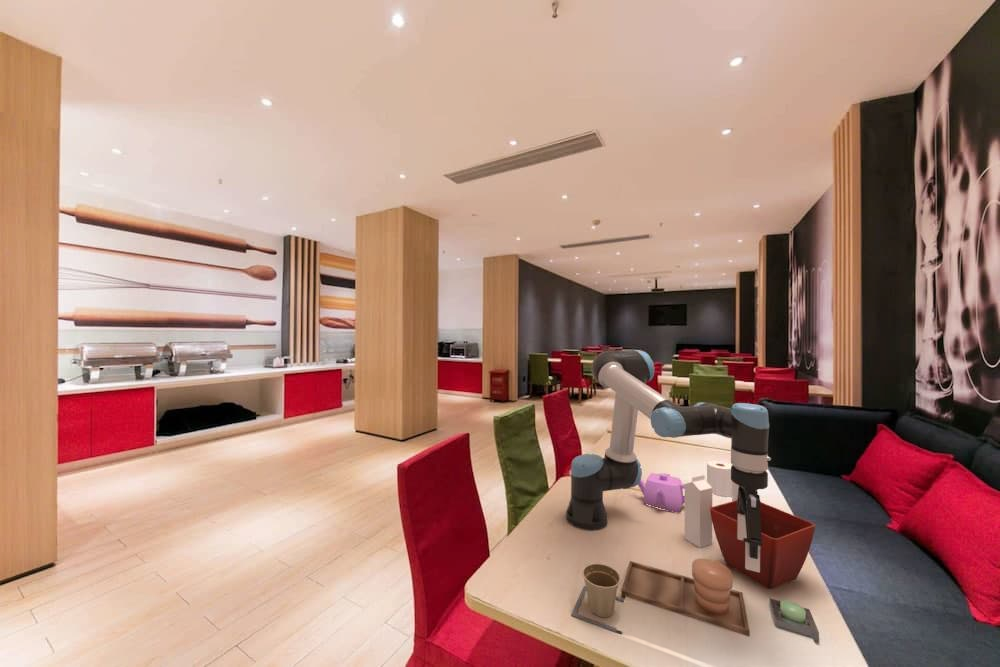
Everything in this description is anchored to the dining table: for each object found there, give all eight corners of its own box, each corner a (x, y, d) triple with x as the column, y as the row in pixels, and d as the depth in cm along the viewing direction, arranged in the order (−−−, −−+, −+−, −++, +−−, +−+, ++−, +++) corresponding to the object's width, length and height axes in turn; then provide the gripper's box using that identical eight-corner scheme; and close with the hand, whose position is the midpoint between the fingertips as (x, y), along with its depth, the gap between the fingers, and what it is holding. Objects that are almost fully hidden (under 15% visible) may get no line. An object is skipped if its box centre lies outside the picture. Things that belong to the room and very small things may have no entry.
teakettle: (695, 511, 146) (696, 480, 146) (658, 516, 142) (658, 484, 142) (666, 493, 163) (667, 465, 163) (632, 497, 159) (633, 468, 159)
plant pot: (774, 603, 96) (775, 539, 96) (707, 562, 113) (708, 507, 113) (816, 584, 104) (817, 524, 104) (747, 548, 121) (748, 496, 121)
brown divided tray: (621, 597, 98) (621, 590, 98) (629, 566, 111) (629, 560, 111) (749, 639, 84) (749, 631, 84) (742, 599, 97) (742, 592, 97)
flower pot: (599, 628, 87) (600, 592, 87) (574, 602, 96) (574, 569, 96) (628, 614, 92) (628, 580, 92) (601, 591, 100) (602, 559, 100)
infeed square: (571, 615, 91) (571, 614, 91) (584, 586, 102) (584, 585, 102) (621, 634, 86) (621, 633, 86) (629, 601, 96) (629, 600, 96)
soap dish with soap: (775, 629, 87) (775, 619, 87) (769, 607, 94) (769, 598, 94) (818, 643, 84) (819, 632, 84) (809, 619, 91) (809, 609, 91)
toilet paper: (710, 495, 161) (710, 467, 161) (704, 485, 171) (704, 459, 171) (736, 498, 158) (737, 470, 158) (729, 488, 168) (729, 462, 168)
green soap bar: (782, 624, 88) (782, 610, 88) (778, 610, 92) (778, 597, 92) (808, 631, 86) (808, 617, 86) (802, 617, 90) (802, 604, 90)
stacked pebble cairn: (691, 609, 92) (691, 573, 93) (692, 587, 100) (692, 554, 100) (734, 623, 88) (734, 585, 88) (730, 599, 96) (731, 564, 96)
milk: (712, 544, 123) (713, 478, 123) (699, 548, 121) (700, 481, 121) (696, 534, 129) (697, 471, 129) (683, 538, 126) (684, 474, 126)
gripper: (779, 490, 78) (778, 590, 78) (758, 455, 100) (756, 533, 100) (737, 483, 81) (736, 579, 81) (725, 450, 103) (724, 526, 103)
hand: (747, 554), depth 90 cm, fingers open, 13 cm apart
